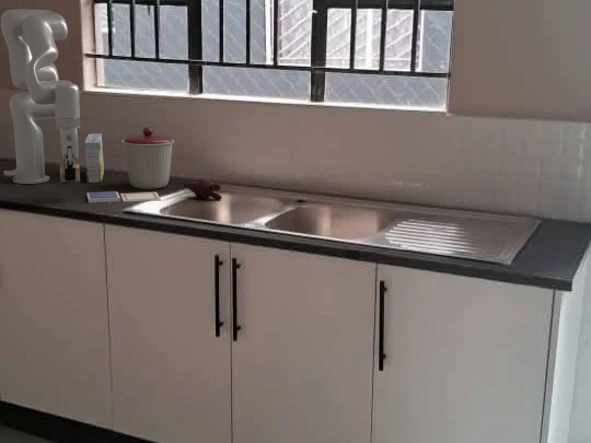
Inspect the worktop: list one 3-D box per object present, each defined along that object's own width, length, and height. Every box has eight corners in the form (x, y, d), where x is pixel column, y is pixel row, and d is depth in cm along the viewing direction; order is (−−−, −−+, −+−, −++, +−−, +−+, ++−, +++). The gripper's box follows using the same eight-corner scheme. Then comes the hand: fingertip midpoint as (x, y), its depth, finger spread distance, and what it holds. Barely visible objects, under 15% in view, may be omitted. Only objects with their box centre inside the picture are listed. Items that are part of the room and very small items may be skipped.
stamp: (60, 183, 264) (59, 162, 263) (60, 179, 270) (59, 158, 268) (80, 183, 266) (79, 162, 264) (79, 179, 272) (78, 158, 270)
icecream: (176, 179, 274) (214, 188, 267) (189, 170, 279) (226, 179, 273) (178, 197, 277) (215, 207, 271) (190, 188, 283) (227, 197, 276)
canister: (121, 182, 298) (119, 124, 293) (171, 180, 303) (170, 123, 298) (125, 192, 282) (123, 131, 276) (178, 190, 286) (177, 130, 281)
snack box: (89, 172, 316) (87, 133, 313) (104, 172, 317) (103, 133, 314) (85, 183, 296) (83, 141, 292) (101, 183, 297) (100, 141, 293)
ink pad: (88, 202, 266) (88, 198, 265) (87, 196, 275) (86, 192, 275) (120, 201, 269) (120, 197, 268) (117, 195, 278) (117, 190, 277)
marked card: (123, 202, 268) (123, 200, 268) (120, 194, 279) (120, 193, 279) (160, 200, 271) (160, 199, 271) (156, 192, 282) (156, 191, 282)
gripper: (81, 127, 256) (83, 183, 261) (79, 118, 272) (80, 172, 277) (56, 127, 254) (58, 184, 259) (55, 118, 270) (57, 172, 275)
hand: (70, 177), depth 268 cm, fingers closed on stamp, 6 cm apart
